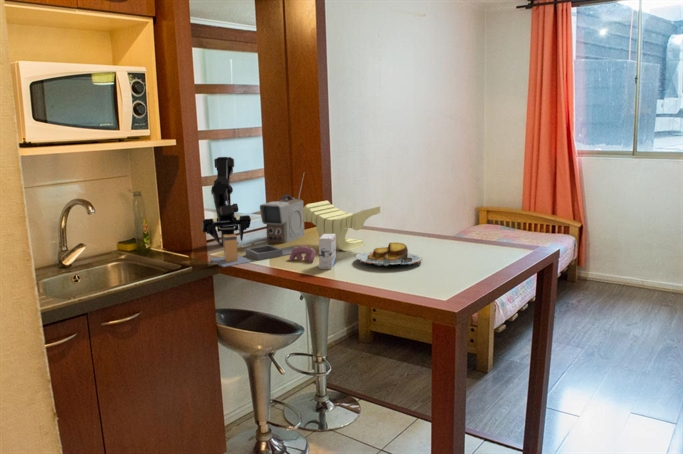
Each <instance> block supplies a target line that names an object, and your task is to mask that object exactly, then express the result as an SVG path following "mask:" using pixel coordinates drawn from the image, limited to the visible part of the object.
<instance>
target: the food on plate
mask: <svg viewBox="0 0 683 454" xmlns="http://www.w3.org/2000/svg"><path fill="white" fill-rule="evenodd" d="M355 258H356V259H357V260H359V264H360V263H362V262H363V263H366V264H372V265H373V264H374V265H376V266H385V267H387V266H389V265H399V264H400V266H406V265H413V264H419V263H421V262H422V261H423V257H422V256H420V255H418V254H414V253H409V249H408V247H407V245H406V244H405V243H403V242H389V243H388V246H386V247H385V246H384V247H376V248H374V249H373V251H368V252H367V251H366V252H362V253H358V254H356V255H355Z"/></svg>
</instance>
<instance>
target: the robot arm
mask: <svg viewBox="0 0 683 454" xmlns="http://www.w3.org/2000/svg"><path fill="white" fill-rule="evenodd" d="M213 161H214V163H213V164H214V168H216V171H217V176H216V177H217V178H215V180H214V181H213V185H212V187H211V191H210V192H211V193H210V194H211V196H212V197H213V202H214V207H215V211H216V216H217V217H216V221H214V218H205V219H204V218H203V220H202V223H201V231H202V232H203V233H204V234H207V235H210V236H211V237H212V238H213V239H214V240H215V241H216V242H217V244H220V245H222V246H224V245H223V235H226V234H235V231H236V232H237V231H238V232H239V238H240V241H243V239H244V238H243V237H244V231H246V230H247V229H249V228H250V226H251V222H252V219H251V216H250V215H248V214H246V215H240V216H239V219H237V217H236V216H235V213H238V212H239V205H238V203H231V199H232V198H231V197H232V196H231V194H233V191H234V188H233V186H232V185H231V176H232V175H233V172H234V168H235V159H234V157H233V158H232V156H218V157H217V158H214V160H213ZM218 232H220V235H221V241H220V238H219V235H218ZM238 244H239V242H238V241H237V245H238Z"/></svg>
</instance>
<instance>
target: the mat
mask: <svg viewBox="0 0 683 454" xmlns="http://www.w3.org/2000/svg"><path fill="white" fill-rule="evenodd" d="M237 255H238V261H232V262H226V261H225V260H224V256H220V257H216V258H215V257H214V258H210V259H209V261H210V260H211V261H210V262H212V261H213V262H212V263H214V262H215V263H217V264H218V265H217V264H216V265H217V266H219V267H222V268H223V269H225V267H230V266H238V265H243V264H247V263H248V264H249V263H253V262H254V261H253V260H251V259H248V258H247V257H244V256H242V255H241V254H238V253H237ZM215 263H214V264H215Z"/></svg>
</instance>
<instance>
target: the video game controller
mask: <svg viewBox="0 0 683 454" xmlns="http://www.w3.org/2000/svg"><path fill="white" fill-rule="evenodd" d="M294 247H295V248H294V249H293V250H292V253H291V255H289V259H288V260H289V262H293V261H294V260H295V259H296V260H298V261H301V260H303V259H304V261H309V264H312V263H314V260H315V258H316V255H317V251H316V250H315V249H314V248H312V247H310V246H307V245H301V246H294ZM303 254H304V257H303Z"/></svg>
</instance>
